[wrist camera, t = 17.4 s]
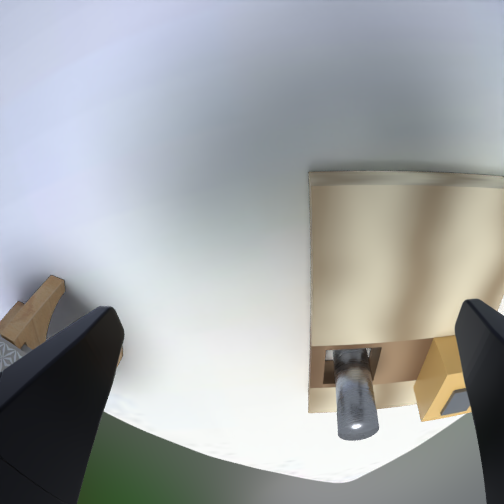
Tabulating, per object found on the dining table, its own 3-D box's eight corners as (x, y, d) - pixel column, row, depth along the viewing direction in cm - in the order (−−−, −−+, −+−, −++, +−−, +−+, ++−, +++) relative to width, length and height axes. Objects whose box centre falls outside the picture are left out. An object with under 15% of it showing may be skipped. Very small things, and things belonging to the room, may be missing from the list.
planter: (7, 255, 24) (-108, 387, 9) (121, 301, 24) (15, 499, 9) (31, 344, 31) (-39, 458, 15) (125, 386, 31) (68, 527, 16)
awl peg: (366, 329, 23) (382, 419, 16) (362, 352, 24) (374, 438, 17) (332, 331, 23) (340, 423, 17) (331, 354, 25) (336, 441, 18)
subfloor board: (511, 177, 16) (532, 191, 13) (447, 378, 25) (453, 398, 23) (308, 171, 18) (310, 186, 15) (308, 391, 28) (308, 414, 25)
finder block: (487, 330, 19) (506, 367, 16) (462, 380, 22) (474, 414, 19) (433, 337, 20) (448, 378, 16) (413, 387, 23) (421, 424, 19)
